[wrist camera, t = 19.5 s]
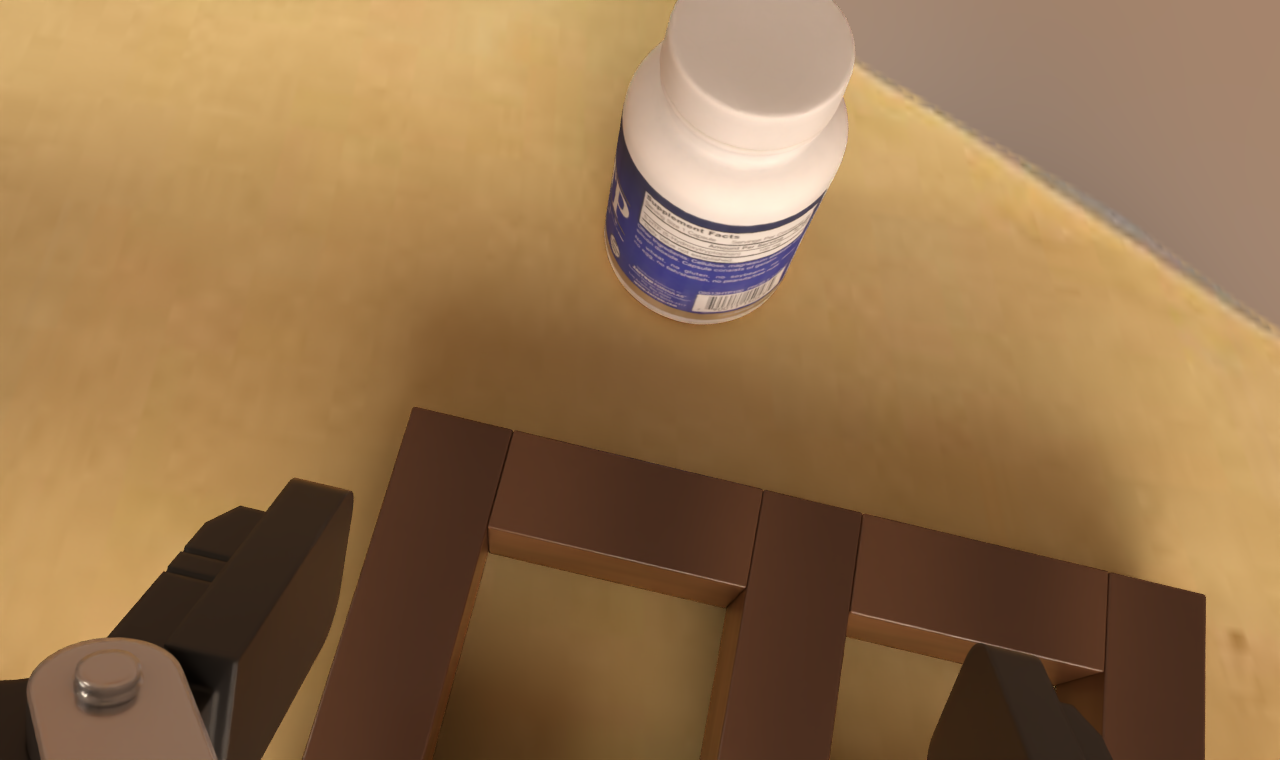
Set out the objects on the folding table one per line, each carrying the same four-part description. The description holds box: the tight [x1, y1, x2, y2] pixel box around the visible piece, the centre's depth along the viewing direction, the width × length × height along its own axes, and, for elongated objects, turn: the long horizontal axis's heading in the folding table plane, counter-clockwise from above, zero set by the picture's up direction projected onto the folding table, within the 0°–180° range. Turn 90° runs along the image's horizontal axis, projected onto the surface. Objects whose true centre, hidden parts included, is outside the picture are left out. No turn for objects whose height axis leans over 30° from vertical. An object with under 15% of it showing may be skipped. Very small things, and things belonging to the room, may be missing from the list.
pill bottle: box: [604, 0, 855, 324], centre depth 27 cm, size 5×5×9 cm
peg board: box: [302, 407, 1206, 760], centre depth 25 cm, size 19×11×2 cm, turn 78°
